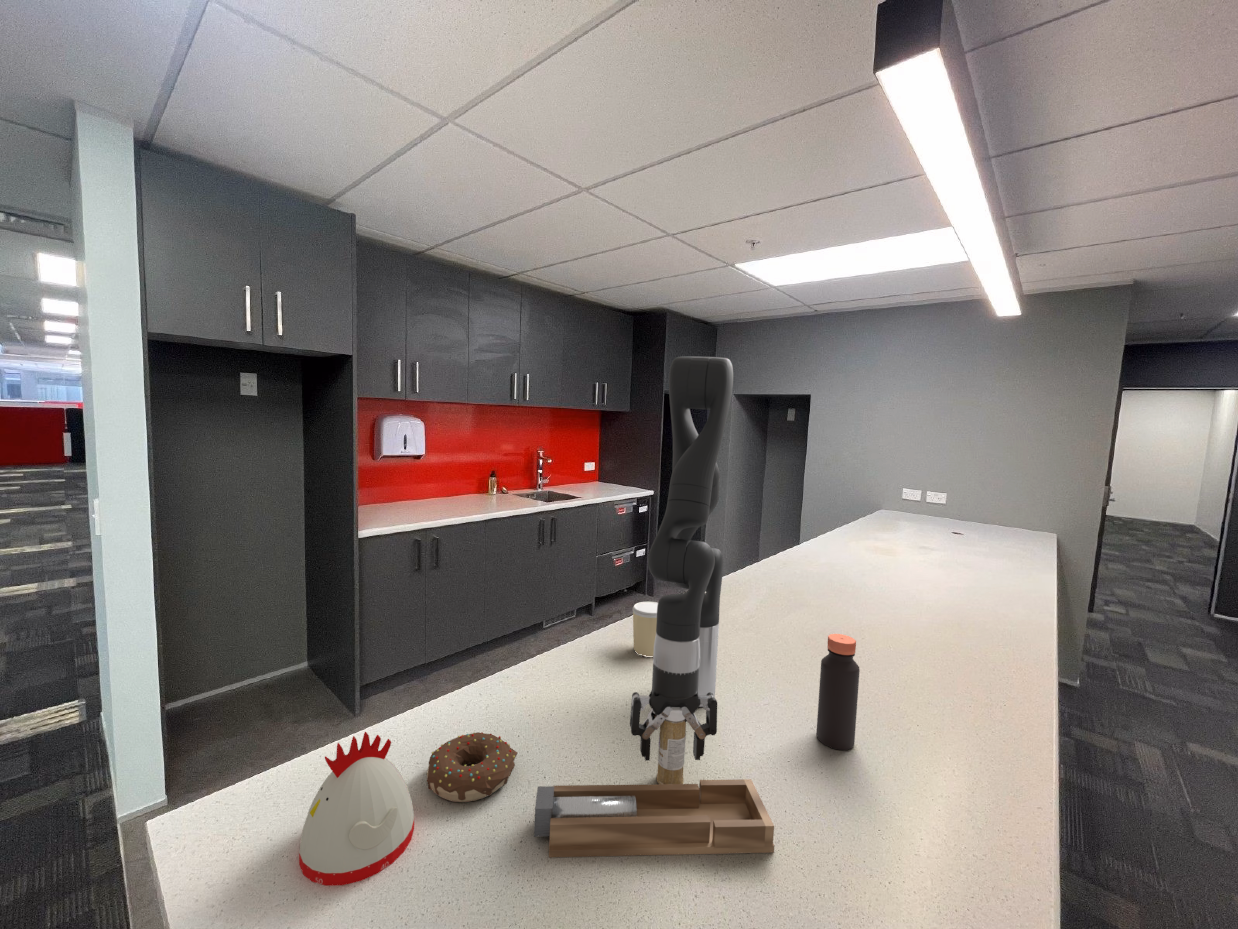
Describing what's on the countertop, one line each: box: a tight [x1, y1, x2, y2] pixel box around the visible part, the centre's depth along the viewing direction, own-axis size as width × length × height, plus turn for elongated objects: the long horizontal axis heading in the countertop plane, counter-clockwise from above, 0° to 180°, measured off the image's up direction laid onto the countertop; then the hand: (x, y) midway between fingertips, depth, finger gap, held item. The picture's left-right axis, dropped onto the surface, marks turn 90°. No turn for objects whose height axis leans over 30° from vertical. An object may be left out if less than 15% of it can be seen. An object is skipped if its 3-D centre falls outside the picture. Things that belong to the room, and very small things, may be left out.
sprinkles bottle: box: [656, 707, 687, 784], centre depth 83 cm, size 5×5×13 cm
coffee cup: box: [632, 601, 658, 656], centre depth 133 cm, size 9×9×12 cm
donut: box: [426, 731, 518, 803], centre depth 82 cm, size 14×14×5 cm
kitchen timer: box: [298, 731, 415, 886], centre depth 69 cm, size 14×14×15 cm
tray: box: [548, 778, 775, 858], centre depth 73 cm, size 9×31×4 cm, turn 94°
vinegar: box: [816, 633, 860, 751], centre depth 96 cm, size 7×7×20 cm
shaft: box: [533, 785, 637, 837], centre depth 72 cm, size 4×14×4 cm, turn 94°
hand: (671, 757), depth 83 cm, fingers open, 8 cm apart
